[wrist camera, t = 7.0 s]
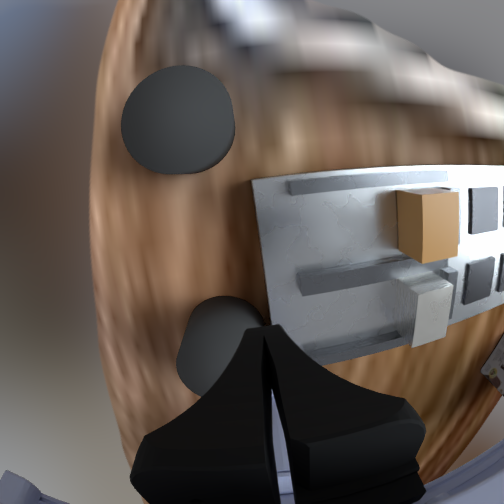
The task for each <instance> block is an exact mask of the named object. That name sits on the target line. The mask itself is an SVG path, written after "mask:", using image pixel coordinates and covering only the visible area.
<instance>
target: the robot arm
mask: <svg viewBox="0 0 504 504" xmlns="http://www.w3.org/2000/svg"><path fill="white" fill-rule="evenodd" d="M425 433H426V428H425V424H424V423H423V421H422V420H421V418H420V417H419V415H418V414H417V412H416V411H415V410H414V408H413V407H412V406H411V405H410V404H409V403H408V402H407V400H406V399H404V398H399V397H395V396H390V395H386V394H382V393H378V392H375V391H372V390H369V389H366V388H363V387H360V386H358V385H355V384H353V383H351V382H349V381H347V380H345V379H342V378H340V377H338V376H337V375H335V374H333V373H331V372H330V371H328V370H327V369H325V368H324V367H322V366H321V365H320V364H318V363H317V362H316V361H314V360H313V359H312V358H311V357H310V356H308V355H307V354H306V353H305V352H304V351H303V350H302V349H301V348H300V347H299V346H298V345H297V344H296V343H295V342H294V341H293V340H292V339H291V338H290V337H289V335H288V334H287V333H286V332H285V330H284V329H283V327H282V326H281V325H279V324H276V325H269V326H262V327H255V328H248V329H246V330H245V331H244V334H243V337H242V339H241V342H240V344H239V346H238V348H237V350H236V352H235V354H234V355H233V357H232V359H231V361H230V362H229V364H228V365H227V367H226V368H225V370H224V371H223V373H222V374H221V376H220V377H219V378H218V379H217V381H216V382H215V383H214V384H213V386H212V387H211V388H210V389H209V390H208V391H207V392H206V393H205V394H204V395H203V396H202V397H201V398H200V399H199V400H198V401H197V402H196V403H195V404H194V405H192V406H191V407H190V408H189V409H187V410H186V411H185V412H184V413H182V414H181V415H179V416H178V417H176V418H175V419H174V420H172V421H170V422H169V423H167V424H166V425H164V426H162V427H160V428H158V429H157V430H155V431H153V432H151V433H149V434H147V435H145V436H144V438H143V440H142V442H141V444H140V446H139V449H138V451H137V454H136V457H135V460H134V464H133V467H132V471H131V474H130V481H131V484H132V485H133V486H134V488H135V489H136V490H137V492H139V494H140V495H141V496H142V497H143V498H144V499H145V500H146V501H147V502H148V503H149V504H504V439H503V440H501V441H500V442H499V443H497V444H496V445H494V446H493V447H491V448H490V449H488V450H487V451H486V452H484V453H482V454H481V455H479V456H477V457H476V458H474V459H473V460H471V461H469V462H468V463H466V464H464V465H462V466H461V467H459V468H457V469H455V470H453V471H452V472H450V473H448V474H446V475H444V476H442V477H440V478H438V479H436V480H434V481H432V482H430V483H428V484H426V485H423V483H422V481H421V479H420V477H419V475H418V473H417V472H418V471H419V469H420V468H419V465H418V463H417V461H416V459H415V457H416V455H417V453H418V451H419V448H420V446H421V444H422V442H423V440H424V437H425ZM0 504H69V503H66V502H63V501H60V500H58V499H55V498H53V497H50V496H47V495H45V494H43V493H41V492H40V490H39V489H38V488H37V487H36V486H35V485H33V484H32V483H31V482H29V481H28V480H26V479H25V478H23V477H20V476H18V475H16V474H14V473H12V472H10V471H8V470H6V471H5V473H4V474H3V476H2V478H1V480H0Z"/></svg>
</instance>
